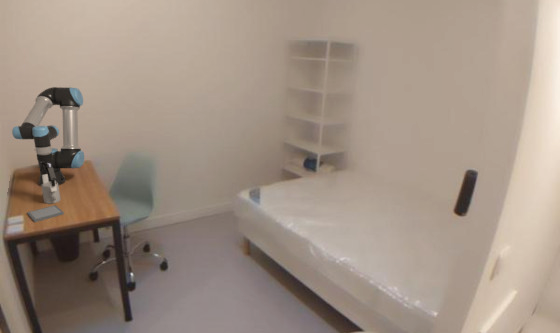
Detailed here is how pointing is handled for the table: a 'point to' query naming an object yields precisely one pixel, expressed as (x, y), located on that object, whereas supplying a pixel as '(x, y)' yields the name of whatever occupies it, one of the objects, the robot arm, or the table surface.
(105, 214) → the table surface
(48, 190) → the mug
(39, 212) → the coaster
